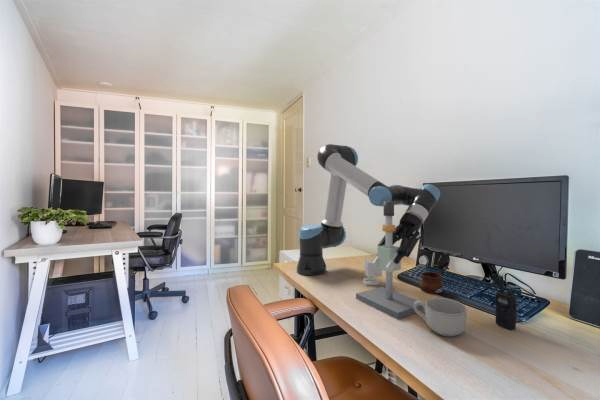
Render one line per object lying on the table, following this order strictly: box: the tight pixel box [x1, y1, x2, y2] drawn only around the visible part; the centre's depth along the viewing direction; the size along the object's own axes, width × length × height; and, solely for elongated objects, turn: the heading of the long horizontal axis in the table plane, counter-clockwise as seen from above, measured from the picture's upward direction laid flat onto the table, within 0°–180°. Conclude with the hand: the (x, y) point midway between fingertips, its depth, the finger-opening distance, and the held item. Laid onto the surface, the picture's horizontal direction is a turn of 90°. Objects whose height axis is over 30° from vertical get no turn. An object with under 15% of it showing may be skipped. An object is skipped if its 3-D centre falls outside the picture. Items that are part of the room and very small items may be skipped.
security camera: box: [362, 258, 383, 286], centre depth 125 cm, size 6×7×10 cm
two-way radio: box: [494, 275, 518, 330], centre depth 84 cm, size 6×4×15 cm
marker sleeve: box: [377, 245, 402, 272], centre depth 102 cm, size 6×6×8 cm
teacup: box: [413, 296, 468, 338], centre depth 83 cm, size 14×11×8 cm
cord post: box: [355, 201, 425, 320], centre depth 102 cm, size 20×14×37 cm
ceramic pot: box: [419, 271, 444, 295], centre depth 115 cm, size 18×18×7 cm
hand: (381, 267), depth 100 cm, fingers closed on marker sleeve, 6 cm apart
